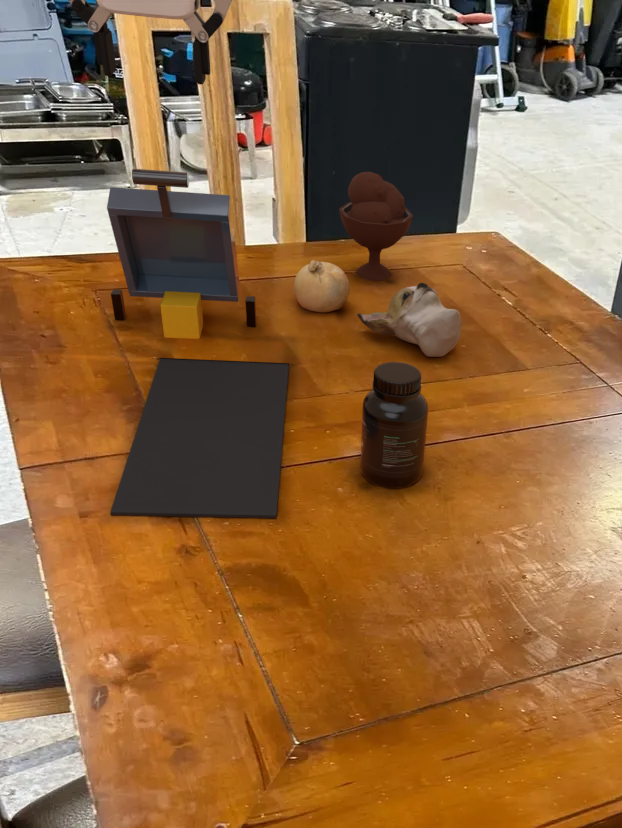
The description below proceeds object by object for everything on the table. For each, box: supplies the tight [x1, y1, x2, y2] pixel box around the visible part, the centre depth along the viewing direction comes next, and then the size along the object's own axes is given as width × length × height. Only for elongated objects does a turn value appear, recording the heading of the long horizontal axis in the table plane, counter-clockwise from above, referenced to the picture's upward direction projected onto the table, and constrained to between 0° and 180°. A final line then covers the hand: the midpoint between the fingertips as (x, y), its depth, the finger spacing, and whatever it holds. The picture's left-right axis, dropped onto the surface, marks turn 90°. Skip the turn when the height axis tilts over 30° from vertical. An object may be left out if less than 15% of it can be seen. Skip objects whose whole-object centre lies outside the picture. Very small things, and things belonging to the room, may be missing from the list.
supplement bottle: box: [360, 361, 429, 489], centre depth 93 cm, size 7×7×12 cm
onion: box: [293, 259, 351, 313], centre depth 126 cm, size 8×8×7 cm
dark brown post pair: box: [110, 288, 258, 328], centre depth 119 cm, size 2×18×4 cm, turn 96°
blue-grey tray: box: [106, 168, 241, 303], centre depth 109 cm, size 20×14×5 cm
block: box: [159, 291, 204, 340], centre depth 116 cm, size 4×4×4 cm
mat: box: [109, 357, 290, 519], centre depth 103 cm, size 16×42×1 cm, turn 6°
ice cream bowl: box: [339, 171, 414, 282], centre depth 135 cm, size 11×11×15 cm
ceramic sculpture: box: [356, 282, 463, 358], centre depth 120 cm, size 11×9×15 cm
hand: (156, 77), depth 97 cm, fingers open, 9 cm apart
